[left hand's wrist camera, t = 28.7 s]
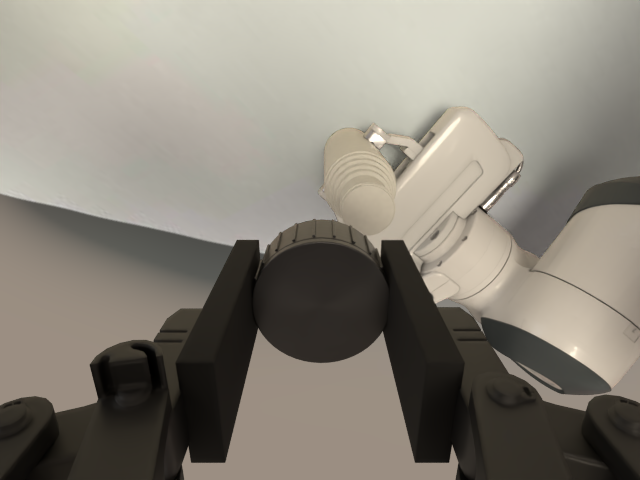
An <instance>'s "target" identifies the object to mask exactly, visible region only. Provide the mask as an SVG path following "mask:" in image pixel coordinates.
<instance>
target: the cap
mask: <svg viewBox="0 0 640 480" xmlns="http://www.w3.org/2000/svg"><path fill="white" fill-rule="evenodd" d="M383 268H384V267H383V264H382V261H381V258H380V255H379V252H378V249H377V248H376V249H375V248H374V246H373V245H372V243H371V242H370V241H369V240H368V238H367V236H366V235H363V234H362V233H361V232H359V231H358V230H356V229H355V228H353V227H352V226H351V225H350V226H348V225H346V224H343V223H340V222H336V221H334V220H332V221H331V220H316V219H313V220H312V221H306V222H303V223H299V224H297V223H296V224H295V225H294V226H292V227H290V228H288V229H287V230H285V231H284V232H280V233H279V236H277V237H276V238H275V239H274V241H273V242H272V243H271V244H270V245H269V244H268V246H267V249H266V252H265V254H264V257H263V260H262V259H261V260H260V263H259V266H258V269H257V272H256V275H255V278H254V281H256V282H255V285H254V288H253V294H252V310H253V315H254V319H255V321H256V324H257V326H258V328H259V330H260V331H261V333H262V334H263V336H264V337H265V338H266V339H267V340H268V341H269V342H270V343H271V344H272V345H273V346H274V347H275V348H277V349H278V350H279V351H281V352H283V353H285V354H286V355H288V356H291V357H293V358H296V359H299V360H303V361H308V362H316V363H328V362H335V361H340V360H344V359H347V358H350V357H352V356H354V355H356V354H358V353H360V352H362V351H363V350H365V349H366V348H368V347H369V346H370V345H371V344H372V343H373V342H374V341H375V340H376V339H377V338H378V337H379V336H380V334H381V333H382V331H383V330H384V328H385V326H386V323H387V318H388V304H389V286H388V282H387V279H386V276H385V273H384V270H383Z"/></svg>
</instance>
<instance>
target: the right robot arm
mask: <svg viewBox="0 0 640 480" xmlns="http://www.w3.org/2000/svg"><path fill="white" fill-rule="evenodd" d="M363 136H364V137H365V138H366V139H367V140H368V141H370V142H372V143H373V144H374V145H375V147H377V148H378V149H379V150H380V149H381V148H382V146H383V145H384V144H385V143H388V144H394V145H400V146H401V147H400V150H401V151H403V152H404V153H405V154H406V155H407V157H406V158H405V159H404V160H403V161H402V163H401V164H400V165H399V166H398V167H397V168H396V170H395V171H394V174H395V178H396V195H395V199H394V202H395V209H396V210H395V215H394V218H393V220H392V222H391V224H390V225H389V226H388V227H387V228H386V229H385V230H383V231H382V232H380V233H378V234H375V235H370V236H367V238H368V240H369V241H370V242H371V243H372V245H373V246H374V248H375V249H376V248H377V249H378V252H379V255H381V240H403V241H404V243H405V244H406V246H407V248H408V250H409V252H410V254H411V256H412V258H413V260H414V262H415V264H416V266H417V268H418V270H419V272H420V274H421V276H422V278H423V280H424V282H425V284H426V286H427V288H428V290H429V292H430V294H431V296H432V298H433V300H434V302H435V304H436V303H438V302H440V301H442V300H445V299H447V298H448V299H450V300H452V301H454V302H456V303H459V304H462V305H464V306H465V307H466V308H467V309H468V310H469V312H470V313H471V315H472V316H473V317H474V318H475V319H476V320H477V321H478V322H480V323H481V324H482V328H483V331H484V333H485V336H486V338H487V341H489V343H490V345H491V346H492V347H493V348H494V349H496V350H497V351H499V352H500V353H502V354H503V355H505V356H507V357H509V358H510V359H511V360H513V361H514V362H515V363H516V364H517V365H518V366H519V367H521V368H522V369H523V370H524V371H525V372H527V373H528V374H529V375H530V376H532V377H533V378H534V379H536V380H537V381H539V382H540V383H542V384H543V385H545V386H546V387H548V388H550V389H552V390H554V391H556V392H558V393H561V394H572V395H593V394H601V393H606V392H610V391H611V389H612V388H613V387H614V386H615V385H616V384H617V383H618V382H619V381H620V380H621V379H622V378H623V377H624V375H625V374H626V373H627V372H628V370H629V369H630V368H631V367H632V366H633V364H634V363H635V362H636V360H637V359H638V358H639V357H640V176H638V177H627V178H621V179H616V180H612V181H608V182H605V183H601V184H598V185H595V186H593V187H591V188H590V189H588V190H587V191H586V193H585V194H584V196H583V198H582V199H581V201H580V202H579V204H578V205H577V207H576V209H575V210H574V212H573V213H572V215H571V216H570V218H569V220H568V221H567V224H566V226H565V227H564V228H563V230H562V231H561V232H560V234H559V235H558V236H557V238H556V239H555V240H554V241H553V243H552V244H551V245H550V247H549V248H548V249H547V251H546V252H545V253H544V254H543V256H542V257H541V258H540V259H539V258H538V257H537V256H535V255H534V254H532V253H530V252H528V251H525V250H523V249H521V248H520V247H519V246H518V245H517V243H516V242H515V240H514V238H513V237H512V235H511V234H510V233H509V232H508V231H507V230H505V229H504V228H503V227H502V226H501V225H500V224H498V223H497V222H496V221H495V220H494V219H492V218H491V217H490V216H489V215H488V214H487V212H488V211H489V210H490V209H491V208H492V207H493V206H494V205H495V204H496V203H497V201H498V200H499V199H500V197H502V195H503V194H504V192H506V190H508V189H509V188H510V187H512V186H513V185H514V184H515V183H516V182H517V181H518V180H519V178H520V176H521V175H520V174H519V173H520V171H521V169H522V167H523V155H522V153H521V152H520V150H519V149H518V148H516V147H515V146H514V145H513V144H512V143H511V142H510V141H508V140H506V139H503V138H498V137H497V136H496V135H495V133H494V132H493V131H492V129H491V128H490V127H489V126H488V125H487V124H486V122H485V121H484V120H483V119H482V118H481V117H480V116H479V115H478V114H477V113H476V112H475V111H474V110H472V109H470V108H468V107H451V108H449V109H447V110H446V112H445V113H444V114H443V115H442V116H441V117H440V119H439V120H438V121H437V122H436V123H435V124H434V125H433V127H432V128H431V129H430V130H429V131H428V132H427V134H426V135H425V136H424V137H423V138H422V139H421V141H420V142H419V143H417V142H416V141H415V140H413V139H412V138H410V137H409V136H402V135H395V134H386V133H385V132H384V131H383V130H382V129H380V128H379V127H378V126H377V125H376V124H374V123H373V124H372V125H371V126H370V127H369V129H368V130H367V131H366V132H365V134H364V135H363ZM517 166H518V167H517ZM516 167H517V169H516V171H515V170H514V169H515V168H516ZM318 194H319V195H320V196H321V197H322V198H323V199H324V200H326V197H325V193H324V184H323V185H322V187H321V188H320V189H319V190H318ZM326 201H327V200H326ZM478 205H479V206H478ZM334 213H335V212H334ZM335 215H336V218H337V220H338V222H340V223H343V221H342V218H341V217H339V216H338V215H337V214H336V213H335ZM343 224H344V223H343Z"/></svg>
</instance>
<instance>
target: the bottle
mask: <svg viewBox="0 0 640 480" xmlns="http://www.w3.org/2000/svg"><path fill="white" fill-rule="evenodd" d="M364 134H365V133H363V132H362V131H360V130H358V129H355V128H344V129H340V130H338V131H336V132H335V133H334V134H332V135H331V137H330V138H329V139H328V141H327V143H326V145H325V149H324V193H325V197H326V200H327V202H328V204H329V206H330V207H331V209H332V210H333V211H334V212H335V213H336V214H337V215H338V216H339V217H341V218H342V221H343V223H344V224H346V225H348V226H350V225H351V226H352V227H353V228H355V229H356V230H358V231H359V232H361V233H362V234H363V235H366V236H370V235H375V234H378V233H380V232H382V231H383V230H385V229H386V228H387V227H388V226H389V225H390V224H391V222H392V220H393V218H394V215H395V210H396V209H395V202H394V199H395V195H396V178H395V174H394V172H393V169H392V168H391V166H390V165H389V163H388V162H387V161H386V159H385V158H384V157H383V156H382V154H381V153H380V152H379V150H378V149H377V148H376V147H375V145H374V144H373V143H372V142H370V141H368V140H367V139H366V138H365V137H364V136H363V135H364Z"/></svg>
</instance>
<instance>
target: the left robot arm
mask: <svg viewBox="0 0 640 480" xmlns="http://www.w3.org/2000/svg"><path fill="white" fill-rule="evenodd" d="M380 258H381V261H382V264H383V267H384V268H383V270H384V273H385V276H386V279H387V282H388V286H389V304H388V318H387V323H386V326H385V328H384V330H383V333H384V337H385V342H386V346H387V350H388V354H389V358H390V362H391V366H392V370H393V374H394V378H395V382H396V386H397V391H398V395H399V399H400V403H401V407H402V411H403V415H404V419H405V423H406V427H407V431H408V436H409V440H410V444H411V448H412V452H413V456H414V460H415V462H416V463H449V460H450V453H451V447H452V445H453V448H454V451H455V453H456V456H457V459H458V462H459V464H458V469H457V475H456V480H640V403H638V402H636V401H633V400H630V399H627V398H624V397H621V396H613V395H601V396H596V397H594V398H593V399H592V400H591V401H590V402H589V403H588V406H587V410H586V411H582V410H577V409H573V408H568V407H564V406H560V405H555V404H552V403H549V402H545V401H543V400H542V398H541V396H540V395H539V393H538V392H537V390H536V389H535V388H534V387H532V386H531V385H530V384H529V383H527V382H526V381H525V380H523V379H520V378H518V377H516V376H514V375H511V374H509V373H508V371H507V370H506V368H505V367H504V365H503V364H502V362H501V360H500V359H499V357H498V356H497V354H496V352H495V351H494V349H493V348H492V346H491V345H490V343H489V341H487V338H486V337H485V335H484V334H483V332H482V331H481V329H480V327H479V326H478V324H477V322H476V321H475V319H474V318H473V317H472V316H471V315H469V314H468V313H467V312H465V311H464V310H463V309H461V308H460V307H437V306H436V304H435V302H434V300H433V298H432V296H431V294H430V292H429V290H428V288H427V286H426V284H425V282H424V280H423V278H422V276H421V274H420V272H419V270H418V268H417V266H416V264H415V262H414V260H413V258H412V256H411V254H410V252H409V250H408V248H407V246H406V244H405V243H404V241H403V240H381V255H380ZM259 263H260V250H259V240H237V241H236V243H235V245H234V247H233V249H232V251H231V253H230V255H229V257H228V259H227V261H226V263H225V265H224V267H223V269H222V271H221V273H220V275H219V277H218V279H217V281H216V283H215V285H214V287H213V289H212V291H211V293H210V295H209V297H208V299H207V301H206V303H205V305H204V307H203V309H180V310H178V311H177V312H176V313H174V314H173V315H171V316H170V317H169V318H167V320H166V321H165V323H164V325H163V326H162V328H161V329H160V333H158V334H157V336H156V337H155V339H154V342H151V341H148V340H132V341H128V342H123V343H119V344H117V345H114V346H112V347H110V348H107V349H106V350H104V351H103V352H102V353H100V354H99V355H97V356H96V357H95V358H94V360H93V361H92V362H91V364H90V368H91V372H92V376H93V380H94V384H95V387H96V391H97V395H98V401H97V403H94V404H91V405H87V406H84V407H79V408H75V409H71V410H66V411H62V412H57V413H55V412H54V408H53V405H52V403H51V402H49V401H48V400H47V399H46V398H41V397H36V396H34V397H25V398H19V399H16V400H13V401H10V402H7V403H4V404H3V405H1V406H0V480H184V476H183V469H182V462H183V459H184V456H185V454H186V451H187V448H188V446H189V452H190V458H191V462H192V463H225V461H226V457H227V453H228V449H229V445H230V441H231V437H232V433H233V428H234V424H235V420H236V416H237V412H238V408H239V404H240V400H241V396H242V392H243V388H244V384H245V379H246V375H247V371H248V367H249V363H250V359H251V355H252V351H253V347H254V343H255V339H256V334H257V330H258V326H257V324H256V321H255V319H254V315H253V310H252V294H253V288H254V285H255V282H256V281H254V278H255V275H256V272H257V269H258V266H259Z"/></svg>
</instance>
